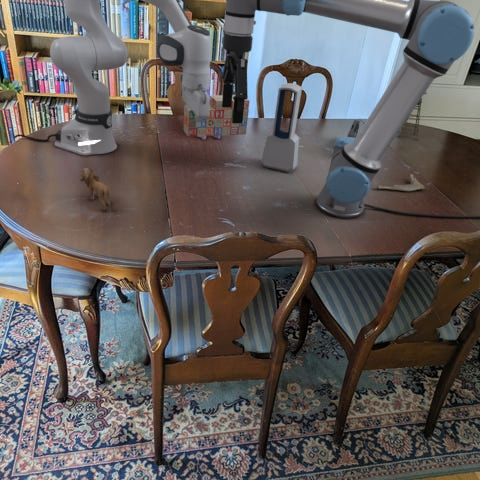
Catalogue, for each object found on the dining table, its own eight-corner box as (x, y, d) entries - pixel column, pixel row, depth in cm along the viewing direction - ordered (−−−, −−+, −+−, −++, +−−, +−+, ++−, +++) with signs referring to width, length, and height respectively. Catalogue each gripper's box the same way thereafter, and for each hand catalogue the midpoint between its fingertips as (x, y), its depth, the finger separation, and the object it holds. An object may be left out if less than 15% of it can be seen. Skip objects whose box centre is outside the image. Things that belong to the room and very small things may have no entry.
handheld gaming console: (349, 160, 187) (354, 136, 182) (342, 158, 188) (347, 134, 183) (355, 142, 206) (361, 119, 201) (349, 140, 207) (354, 118, 201)
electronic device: (296, 166, 177) (310, 86, 161) (292, 174, 171) (306, 91, 154) (265, 160, 180) (276, 80, 163) (259, 167, 174) (270, 85, 157)
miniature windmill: (417, 139, 216) (437, 73, 200) (398, 137, 217) (417, 70, 201) (414, 133, 223) (434, 68, 207) (397, 130, 224) (415, 66, 208)
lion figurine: (77, 195, 143) (74, 168, 138) (92, 190, 146) (90, 163, 142) (107, 213, 136) (105, 185, 131) (122, 207, 139) (120, 180, 134)
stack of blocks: (188, 137, 158) (189, 101, 151) (183, 130, 163) (184, 95, 156) (246, 134, 165) (249, 99, 159) (240, 128, 170) (243, 94, 163)
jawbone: (429, 189, 172) (431, 184, 171) (394, 201, 161) (396, 196, 160) (410, 177, 177) (412, 172, 176) (375, 189, 167) (376, 184, 165)
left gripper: (215, 90, 145) (212, 132, 152) (196, 72, 160) (194, 112, 168) (196, 90, 143) (194, 133, 150) (178, 72, 158) (177, 112, 166)
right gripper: (265, 44, 111) (256, 130, 123) (241, 26, 131) (234, 101, 143) (235, 43, 109) (228, 130, 121) (214, 24, 129) (210, 100, 141)
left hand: (194, 122), depth 159 cm, fingers closed on stack of blocks, 6 cm apart
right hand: (231, 114), depth 132 cm, fingers open, 13 cm apart
